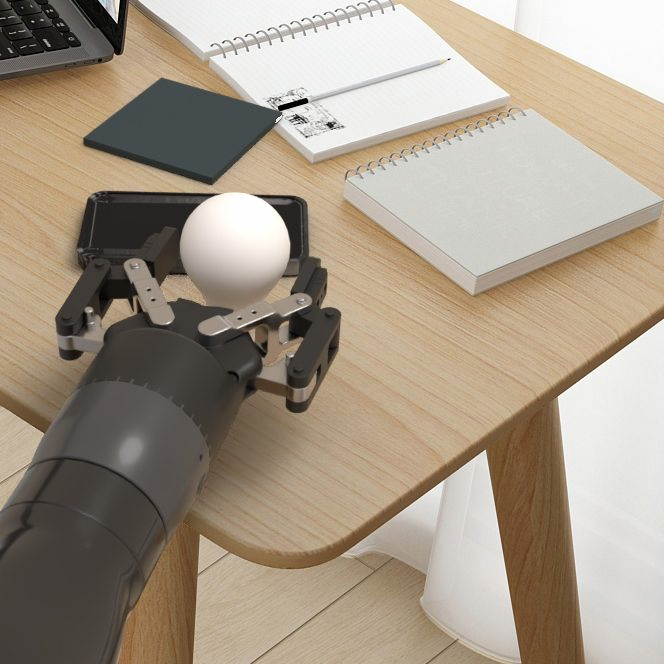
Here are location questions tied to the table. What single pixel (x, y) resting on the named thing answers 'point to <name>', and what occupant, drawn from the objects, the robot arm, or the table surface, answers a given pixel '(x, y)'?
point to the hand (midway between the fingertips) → (242, 254)
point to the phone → (168, 224)
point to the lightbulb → (235, 250)
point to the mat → (184, 130)
